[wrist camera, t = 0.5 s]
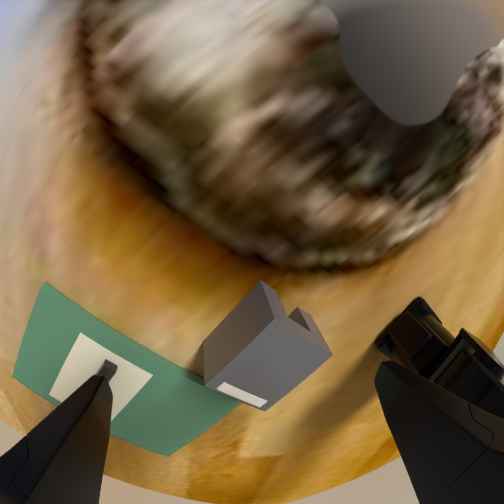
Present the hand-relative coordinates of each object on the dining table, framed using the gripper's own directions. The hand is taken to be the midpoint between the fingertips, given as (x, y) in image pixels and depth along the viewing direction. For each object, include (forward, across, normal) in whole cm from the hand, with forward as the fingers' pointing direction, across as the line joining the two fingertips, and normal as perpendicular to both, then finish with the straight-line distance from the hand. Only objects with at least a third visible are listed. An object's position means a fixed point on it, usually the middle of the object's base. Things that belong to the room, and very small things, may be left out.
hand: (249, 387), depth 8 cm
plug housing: (+13, -2, +7) cm, 15 cm away
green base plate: (+13, +11, +14) cm, 22 cm away
